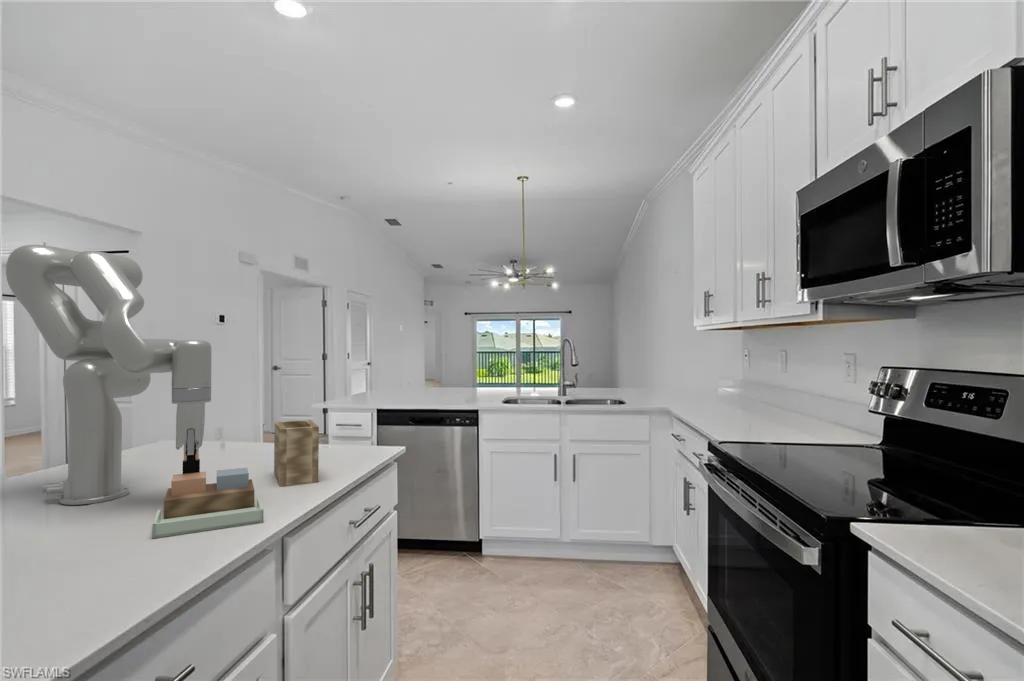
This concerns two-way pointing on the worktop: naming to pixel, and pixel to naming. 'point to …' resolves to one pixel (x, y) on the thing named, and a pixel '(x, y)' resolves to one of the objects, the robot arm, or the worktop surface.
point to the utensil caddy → (296, 452)
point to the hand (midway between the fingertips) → (191, 478)
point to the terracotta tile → (188, 483)
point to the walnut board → (208, 501)
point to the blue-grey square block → (232, 479)
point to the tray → (206, 521)
